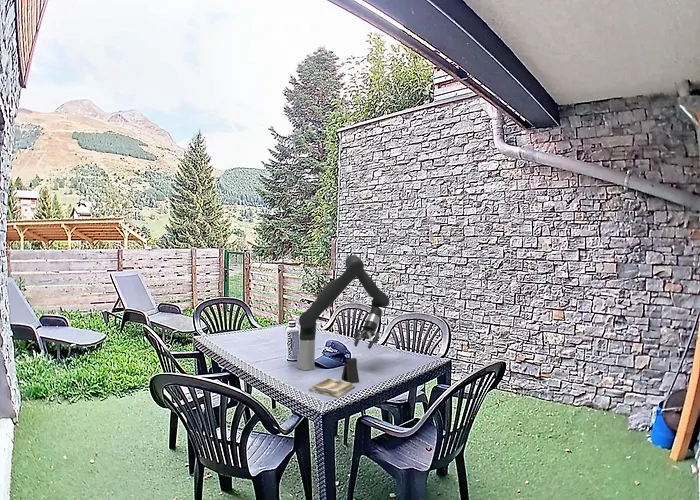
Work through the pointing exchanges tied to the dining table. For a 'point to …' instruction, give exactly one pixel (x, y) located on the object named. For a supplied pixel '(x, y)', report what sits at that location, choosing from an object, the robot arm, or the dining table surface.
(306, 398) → the dining table surface
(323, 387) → the spacer board
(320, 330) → the dining table surface
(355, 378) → the black tent sign
